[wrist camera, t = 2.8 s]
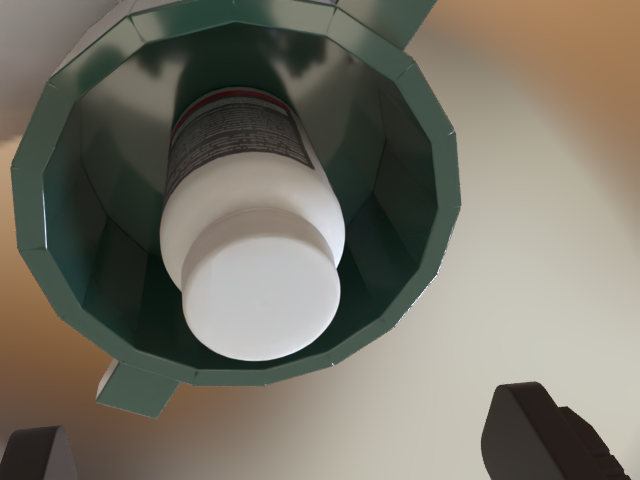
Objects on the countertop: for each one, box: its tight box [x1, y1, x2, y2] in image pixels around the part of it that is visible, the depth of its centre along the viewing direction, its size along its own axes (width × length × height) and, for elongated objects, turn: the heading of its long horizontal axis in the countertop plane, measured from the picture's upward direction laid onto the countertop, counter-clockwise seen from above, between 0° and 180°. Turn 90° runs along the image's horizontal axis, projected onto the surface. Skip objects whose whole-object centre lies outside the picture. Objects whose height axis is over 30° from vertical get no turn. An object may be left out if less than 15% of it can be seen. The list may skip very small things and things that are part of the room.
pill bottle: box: [160, 87, 345, 361], centre depth 18 cm, size 5×5×10 cm
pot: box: [11, 0, 461, 419], centre depth 20 cm, size 13×19×6 cm
